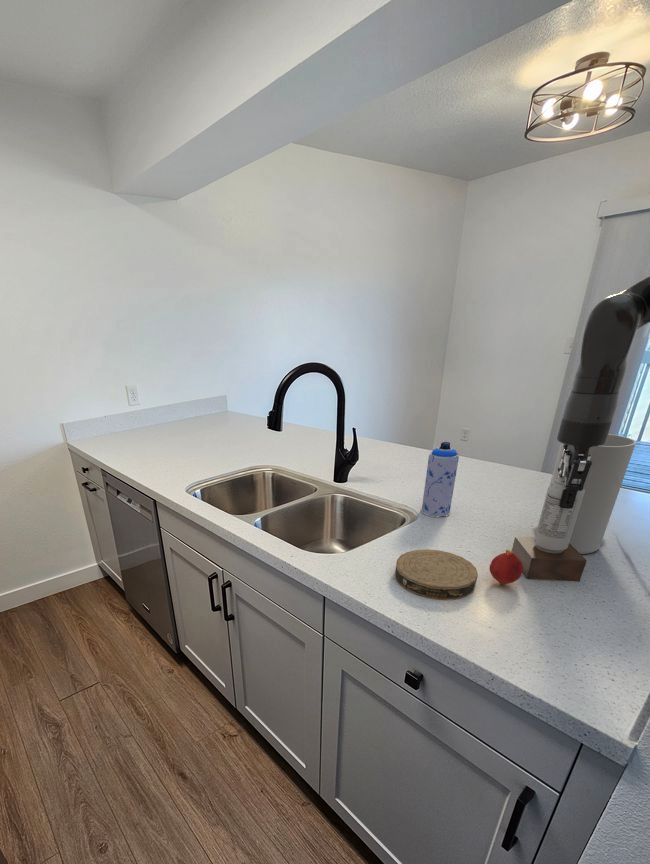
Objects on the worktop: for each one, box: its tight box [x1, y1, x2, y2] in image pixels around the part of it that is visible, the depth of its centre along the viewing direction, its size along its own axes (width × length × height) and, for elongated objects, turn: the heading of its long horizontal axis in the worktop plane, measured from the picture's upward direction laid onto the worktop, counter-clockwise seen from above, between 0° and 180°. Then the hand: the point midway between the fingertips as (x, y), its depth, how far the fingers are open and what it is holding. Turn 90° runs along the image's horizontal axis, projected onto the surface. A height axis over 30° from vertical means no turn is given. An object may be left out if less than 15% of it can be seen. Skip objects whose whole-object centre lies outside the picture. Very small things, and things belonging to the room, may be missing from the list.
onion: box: [489, 549, 523, 586], centre depth 88 cm, size 6×6×8 cm
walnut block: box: [511, 536, 588, 582], centre depth 93 cm, size 10×10×5 cm
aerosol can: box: [420, 441, 460, 517], centre depth 120 cm, size 8×8×20 cm
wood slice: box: [394, 548, 479, 601], centre depth 92 cm, size 16×16×3 cm
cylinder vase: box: [549, 433, 637, 555], centre depth 98 cm, size 12×12×25 cm
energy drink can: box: [534, 477, 585, 553], centre depth 89 cm, size 6×6×15 cm
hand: (562, 501), depth 88 cm, fingers closed on energy drink can, 6 cm apart
